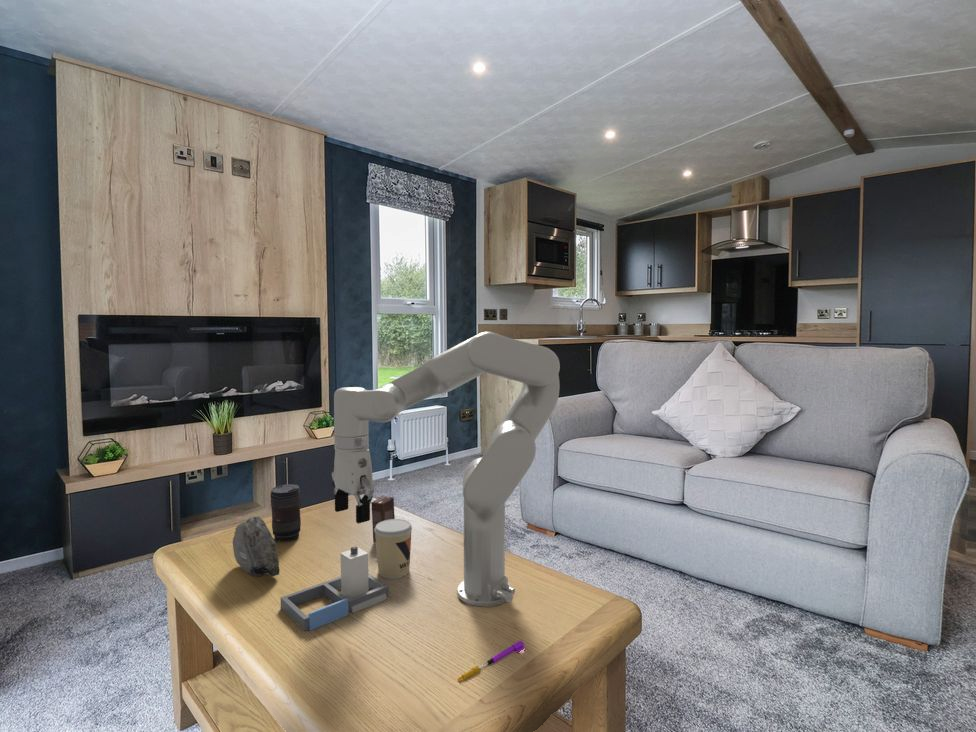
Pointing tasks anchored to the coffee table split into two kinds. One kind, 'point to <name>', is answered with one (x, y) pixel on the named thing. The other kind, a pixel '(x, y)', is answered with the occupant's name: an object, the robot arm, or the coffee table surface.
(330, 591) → the divided sorting tray
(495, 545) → the robot arm
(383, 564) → the cream lidded canister
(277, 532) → the camera lens
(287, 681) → the coffee table surface
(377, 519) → the box
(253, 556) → the decorative rock
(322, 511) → the coffee table surface
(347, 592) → the plug
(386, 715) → the coffee table surface
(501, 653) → the purple and yellow tool
